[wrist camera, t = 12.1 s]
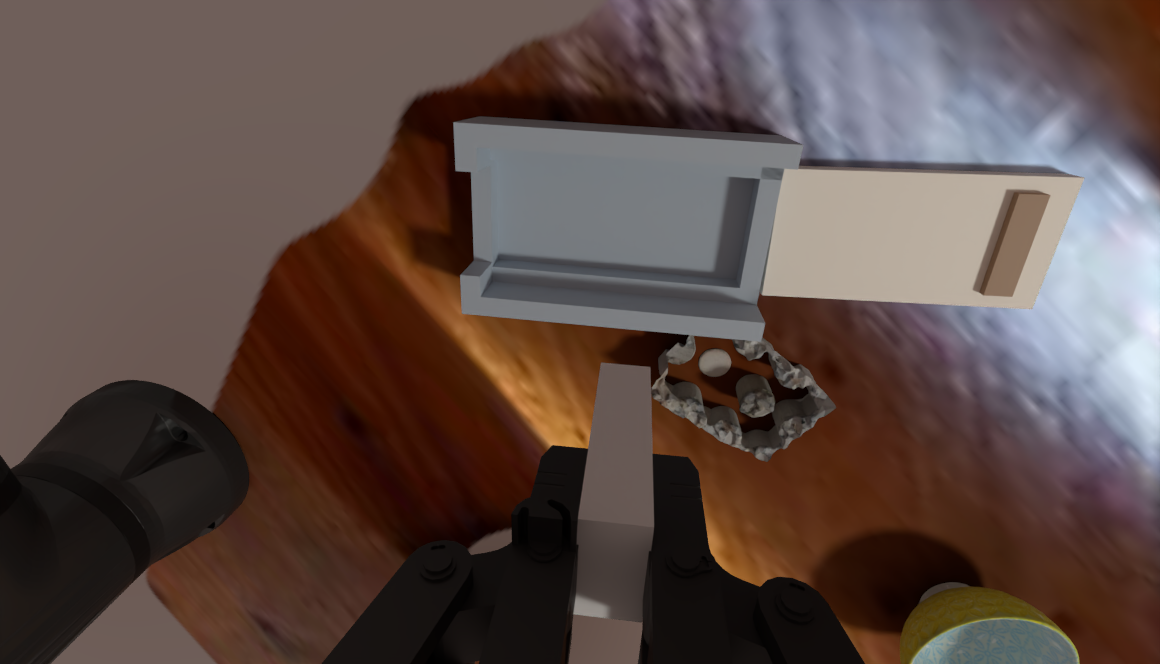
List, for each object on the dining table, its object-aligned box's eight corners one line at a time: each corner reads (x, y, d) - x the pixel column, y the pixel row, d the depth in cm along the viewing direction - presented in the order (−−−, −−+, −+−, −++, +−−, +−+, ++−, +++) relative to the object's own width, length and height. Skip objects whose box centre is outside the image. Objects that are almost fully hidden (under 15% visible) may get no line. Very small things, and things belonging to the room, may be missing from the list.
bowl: (1059, 574, 43) (1120, 648, 37) (973, 662, 48) (1015, 739, 42) (922, 532, 43) (963, 600, 37) (850, 624, 48) (876, 697, 42)
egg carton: (642, 364, 40) (641, 394, 36) (714, 289, 37) (721, 313, 33) (751, 446, 41) (760, 482, 38) (828, 381, 38) (847, 413, 35)
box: (484, 285, 38) (461, 313, 34) (479, 116, 33) (453, 122, 29) (747, 309, 37) (761, 341, 32) (781, 135, 32) (803, 144, 27)
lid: (757, 285, 36) (763, 297, 34) (776, 164, 33) (784, 170, 31) (1014, 298, 35) (1037, 312, 33) (1061, 172, 32) (1091, 179, 29)
